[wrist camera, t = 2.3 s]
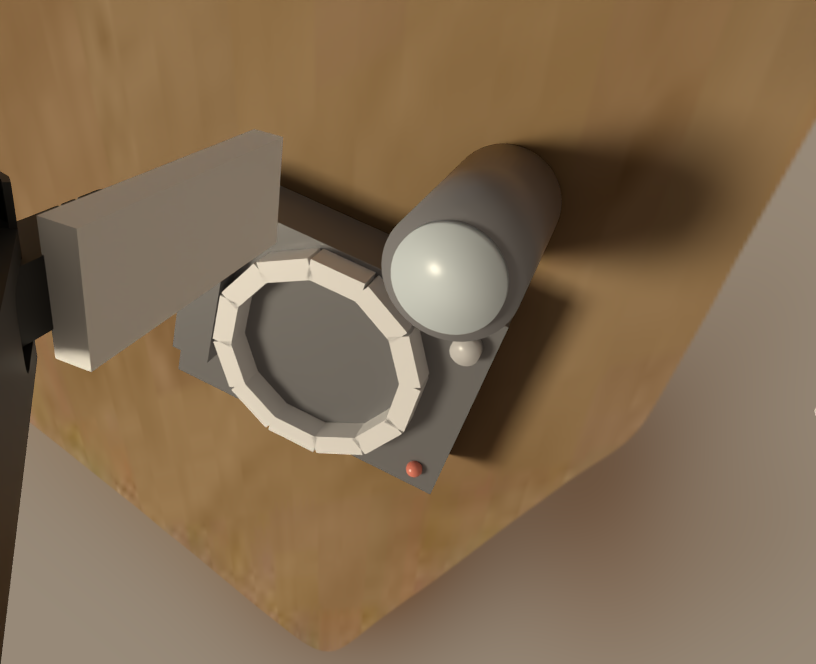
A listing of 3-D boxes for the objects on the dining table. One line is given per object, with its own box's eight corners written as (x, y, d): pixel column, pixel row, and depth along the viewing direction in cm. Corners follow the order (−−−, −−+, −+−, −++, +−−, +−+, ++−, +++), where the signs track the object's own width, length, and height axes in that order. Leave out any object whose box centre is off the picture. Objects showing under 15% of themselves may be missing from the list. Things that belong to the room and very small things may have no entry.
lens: (434, 227, 38) (361, 310, 29) (471, 125, 35) (400, 184, 26) (534, 272, 37) (489, 370, 29) (581, 171, 34) (546, 248, 25)
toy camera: (213, 339, 47) (163, 380, 43) (242, 168, 40) (186, 196, 36) (448, 454, 45) (422, 510, 41) (523, 294, 38) (502, 341, 33)
